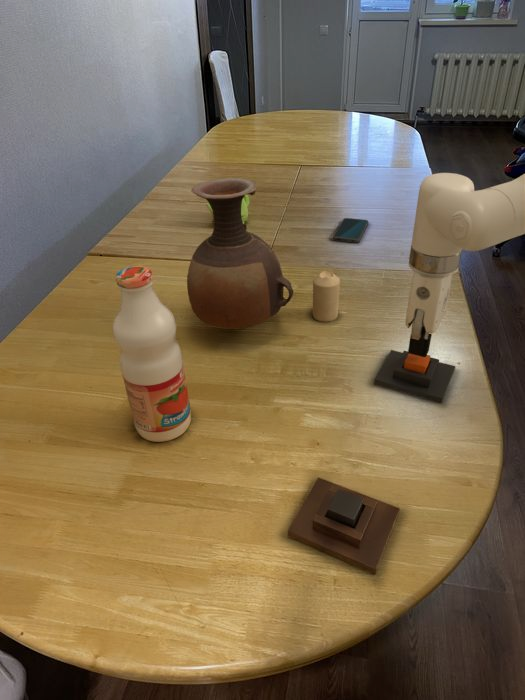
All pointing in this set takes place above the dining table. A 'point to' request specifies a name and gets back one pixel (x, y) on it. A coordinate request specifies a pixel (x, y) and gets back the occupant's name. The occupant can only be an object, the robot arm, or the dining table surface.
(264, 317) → the vase
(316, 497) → the brown flat stepped block
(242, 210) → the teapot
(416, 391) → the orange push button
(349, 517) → the rocker switch
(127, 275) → the fruit juice
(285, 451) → the dining table surface
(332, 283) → the candle
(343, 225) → the smartphone
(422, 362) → the enter key
